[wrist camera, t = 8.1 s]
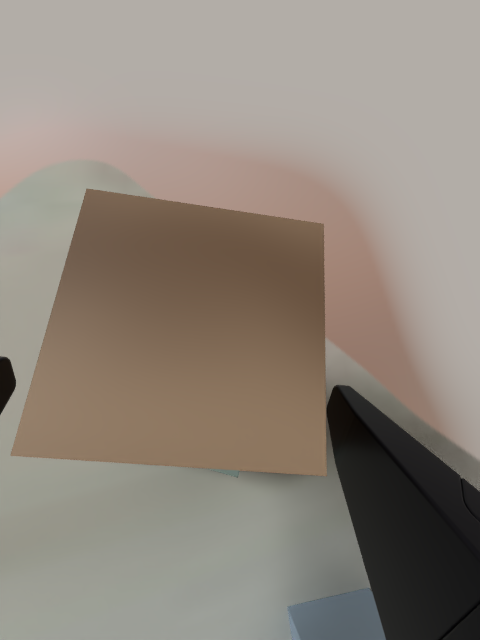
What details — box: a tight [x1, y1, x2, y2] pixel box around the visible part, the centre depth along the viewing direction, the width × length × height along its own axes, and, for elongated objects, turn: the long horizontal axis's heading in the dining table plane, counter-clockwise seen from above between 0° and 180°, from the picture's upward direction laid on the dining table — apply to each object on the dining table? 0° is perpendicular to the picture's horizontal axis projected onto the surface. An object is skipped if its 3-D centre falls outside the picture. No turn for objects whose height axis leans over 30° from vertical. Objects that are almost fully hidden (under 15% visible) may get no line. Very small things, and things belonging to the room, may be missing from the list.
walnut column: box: [10, 189, 327, 476], centre depth 11 cm, size 5×5×12 cm
